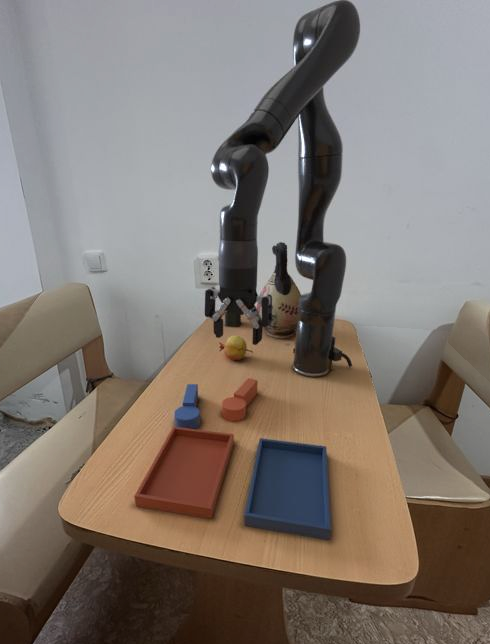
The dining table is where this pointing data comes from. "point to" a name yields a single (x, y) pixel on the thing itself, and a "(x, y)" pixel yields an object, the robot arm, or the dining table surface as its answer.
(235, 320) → the candle
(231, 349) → the fruit
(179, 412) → the blue scoop
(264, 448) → the blue tray
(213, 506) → the terracotta tray
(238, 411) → the terracotta scoop
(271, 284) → the ceramic jug
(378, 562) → the dining table surface
